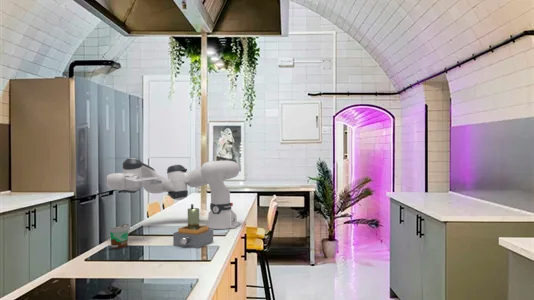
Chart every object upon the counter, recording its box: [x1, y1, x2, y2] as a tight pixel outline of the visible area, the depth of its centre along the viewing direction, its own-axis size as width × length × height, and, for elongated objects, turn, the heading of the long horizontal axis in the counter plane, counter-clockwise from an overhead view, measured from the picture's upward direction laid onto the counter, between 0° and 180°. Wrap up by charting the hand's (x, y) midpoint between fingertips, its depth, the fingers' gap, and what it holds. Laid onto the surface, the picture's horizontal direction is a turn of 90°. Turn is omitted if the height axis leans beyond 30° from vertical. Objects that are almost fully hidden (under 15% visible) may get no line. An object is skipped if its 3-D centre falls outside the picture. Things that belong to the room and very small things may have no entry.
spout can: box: [187, 203, 200, 229], centre depth 220 cm, size 6×6×13 cm
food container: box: [109, 223, 131, 250], centre depth 213 cm, size 12×6×10 cm, turn 168°
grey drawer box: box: [172, 225, 214, 249], centre depth 218 cm, size 17×14×8 cm
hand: (155, 182), depth 227 cm, fingers open, 8 cm apart
